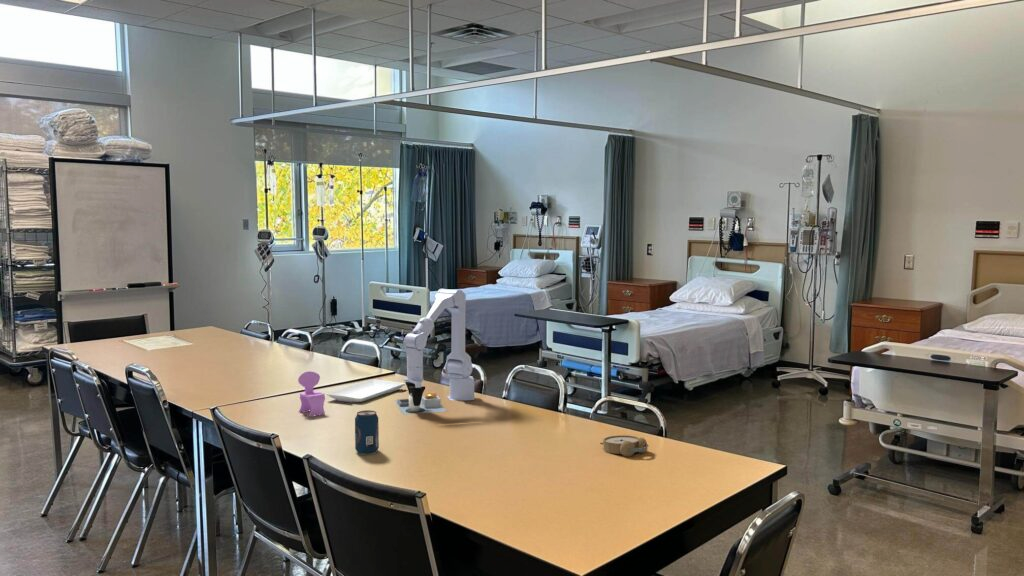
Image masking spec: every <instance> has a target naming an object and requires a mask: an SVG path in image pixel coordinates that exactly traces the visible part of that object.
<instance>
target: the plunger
mask: <svg viewBox="0 0 1024 576" xmlns="http://www.w3.org/2000/svg"><path fill="white" fill-rule="evenodd" d="M424 396H425V397H426V399H436V396H438V395H437V393H436V392H435V393H432V392H431V393H425V395H424Z"/></svg>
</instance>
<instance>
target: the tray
mask: <svg viewBox="0 0 1024 576" xmlns="http://www.w3.org/2000/svg"><path fill="white" fill-rule="evenodd" d="M405 386H406V383H405V382H399V381H391V380H383V379H375V378H373V379H369V380H365V381H362V382H358V383H356V384H355V383H354V384H353V385H349V386H346V387H343V388H339V389H337V390H333V391H331V392H330V391H329V392H327V393H326V394H325V395H326V396H327V397H329V398H332V399H334V400H336V401H337V402H344V403H352V402H353V403H363V402H366V401H368V400H372V399H374V398H377V397H381V396H382V395H385V394H388V395H389V394H391V393H394V392H397V390H399V389H401V388H403V387H405Z"/></svg>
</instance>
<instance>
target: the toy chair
mask: <svg viewBox="0 0 1024 576" xmlns="http://www.w3.org/2000/svg"><path fill="white" fill-rule="evenodd" d="M320 380H321V376H320V374H319V373H317V372H314V371H312V370H311V371H309V370H308V371H305V372H303V373H301V374H300V375H299V377H298V379H297V381H298V384H299V385H300V386H302V387H303V388H304V392H301V393H300V394H299V399H300V404H301V405H300V408H299V410H298V413H299V412H301V413H304V412H303V411H307V412H309V414H308V417H309V416H312V417H315V416H314V415H318V416H320V415H319V414H323V415H326V412H325V410H324V405H325V400H326V396H325V395H326V394H325V393H323V392H320V391H318V390H314V387H315V386H317V385H318V384H319V381H320ZM309 410H311V411H309Z"/></svg>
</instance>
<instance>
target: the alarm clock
mask: <svg viewBox="0 0 1024 576" xmlns="http://www.w3.org/2000/svg"><path fill="white" fill-rule="evenodd" d="M599 445H603V451H604V452H606V453H609V454H615V455H617V454H618V455H622V456H623V457H627V458H629V457H632V456H634V454H635V453H639V454H644V453H645V452H646V451H647V450H648V448H649V445H648V443H647V440H646V439H645V438H644V437H638V436H634V435H626V434H624V435H621V434H620V435H611V436H609V435H608V436H606V437H604V438H603V439H602V442H600V443H599Z"/></svg>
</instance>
